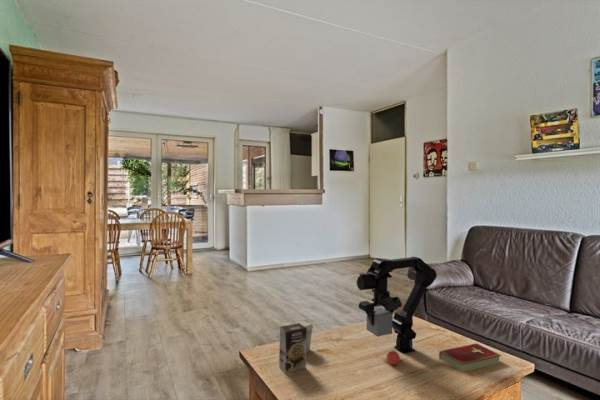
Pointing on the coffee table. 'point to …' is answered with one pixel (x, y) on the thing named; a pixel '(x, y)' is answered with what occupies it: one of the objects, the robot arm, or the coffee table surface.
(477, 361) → the hardcover book
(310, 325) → the coffee cup
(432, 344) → the coffee table surface
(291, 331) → the coffee box
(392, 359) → the ball
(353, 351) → the coffee table surface
